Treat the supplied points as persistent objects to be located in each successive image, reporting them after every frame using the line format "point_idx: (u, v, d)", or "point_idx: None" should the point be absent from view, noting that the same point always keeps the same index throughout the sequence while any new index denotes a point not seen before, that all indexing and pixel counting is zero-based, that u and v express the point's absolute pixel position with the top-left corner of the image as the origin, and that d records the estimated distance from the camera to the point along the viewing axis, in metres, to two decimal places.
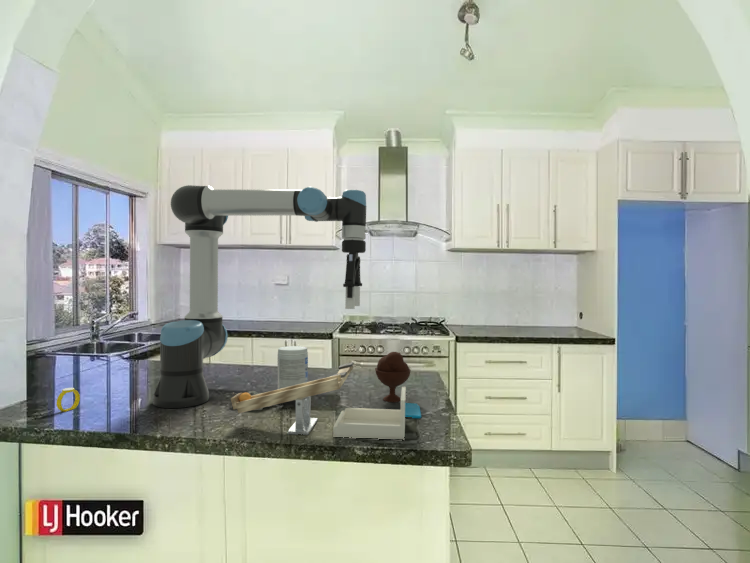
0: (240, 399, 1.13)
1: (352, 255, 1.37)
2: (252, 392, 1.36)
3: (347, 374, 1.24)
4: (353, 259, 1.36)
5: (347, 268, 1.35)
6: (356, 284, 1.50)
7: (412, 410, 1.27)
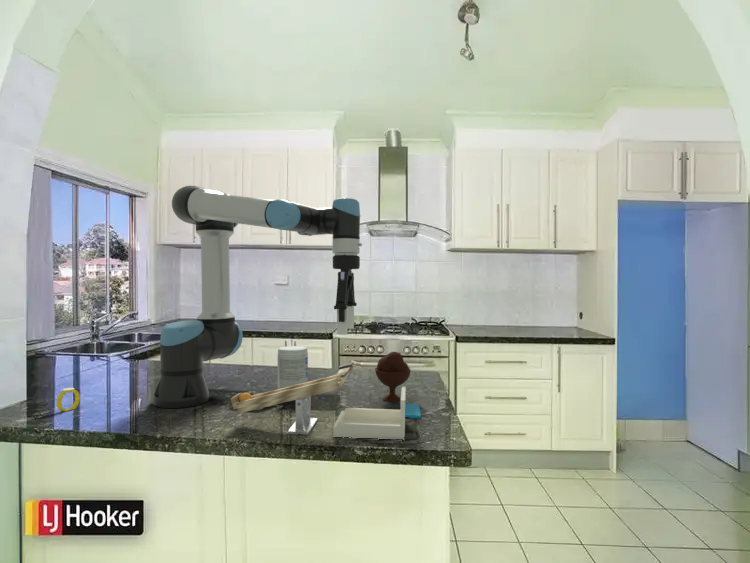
0: (240, 399, 1.13)
1: (344, 273, 1.20)
2: (252, 392, 1.36)
3: (347, 374, 1.24)
4: (345, 277, 1.19)
5: (338, 288, 1.18)
6: (350, 304, 1.33)
7: (411, 410, 1.26)
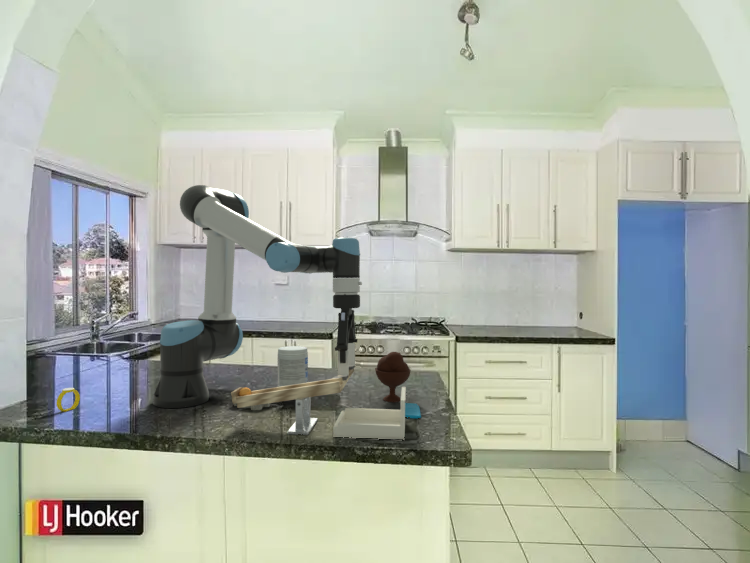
0: (240, 394, 1.13)
1: (344, 314, 1.20)
2: None
3: (348, 377, 1.24)
4: (346, 318, 1.19)
5: (339, 329, 1.18)
6: (351, 340, 1.33)
7: (411, 410, 1.26)
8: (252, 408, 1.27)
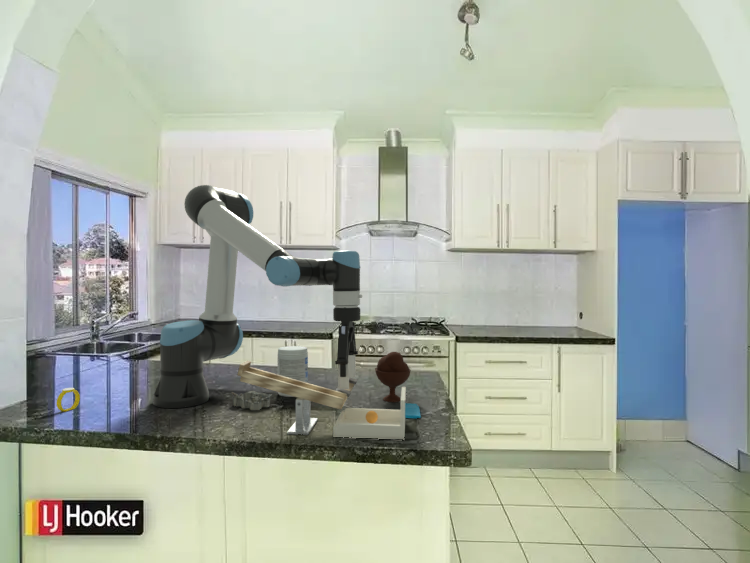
0: (374, 417, 1.11)
1: (345, 327, 1.20)
2: (252, 392, 1.36)
3: None
4: (346, 332, 1.19)
5: (339, 343, 1.18)
6: (351, 353, 1.33)
7: (411, 410, 1.26)
8: (251, 408, 1.27)
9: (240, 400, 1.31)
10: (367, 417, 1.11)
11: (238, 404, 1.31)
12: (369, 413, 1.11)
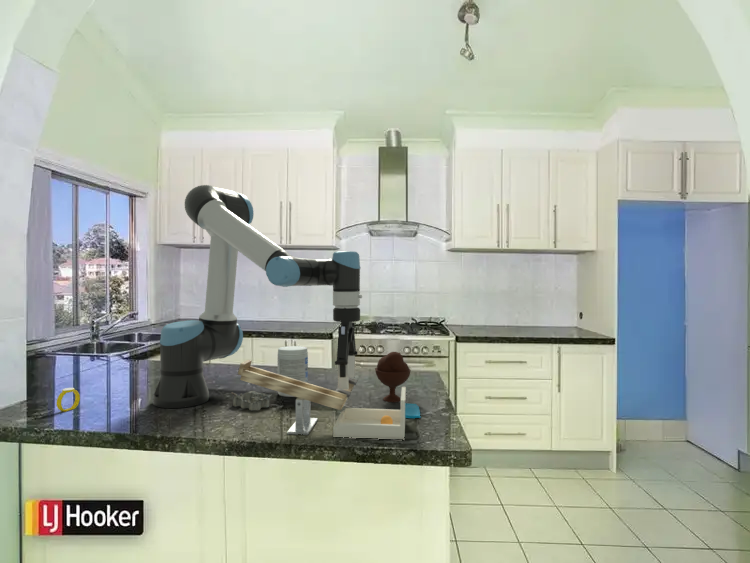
0: (384, 421, 1.10)
1: (344, 328, 1.20)
2: (252, 392, 1.36)
3: None
4: (346, 332, 1.19)
5: (339, 343, 1.18)
6: (351, 353, 1.33)
7: (411, 410, 1.26)
8: (250, 408, 1.27)
9: (240, 400, 1.31)
10: None
11: (238, 404, 1.31)
12: None
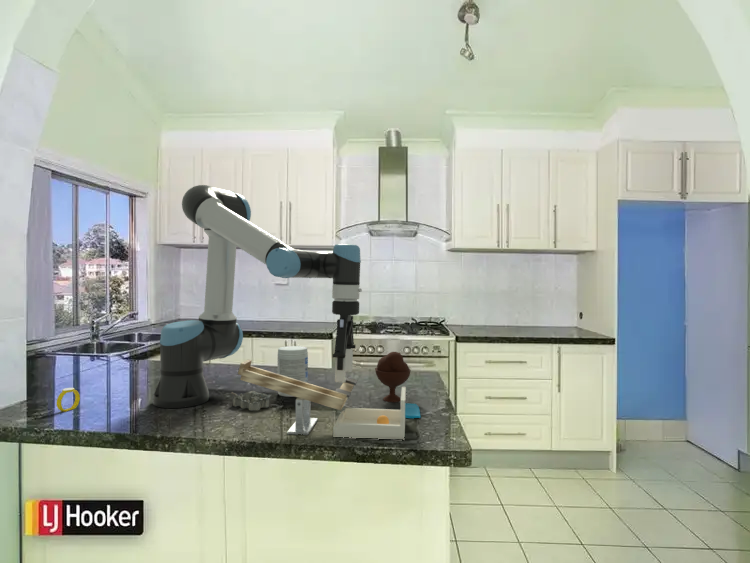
0: (379, 422, 1.10)
1: (343, 321, 1.20)
2: (252, 392, 1.36)
3: None
4: (344, 325, 1.19)
5: (337, 336, 1.18)
6: (348, 346, 1.34)
7: (411, 410, 1.26)
8: (250, 408, 1.27)
9: (239, 400, 1.31)
10: None
11: (237, 404, 1.31)
12: None
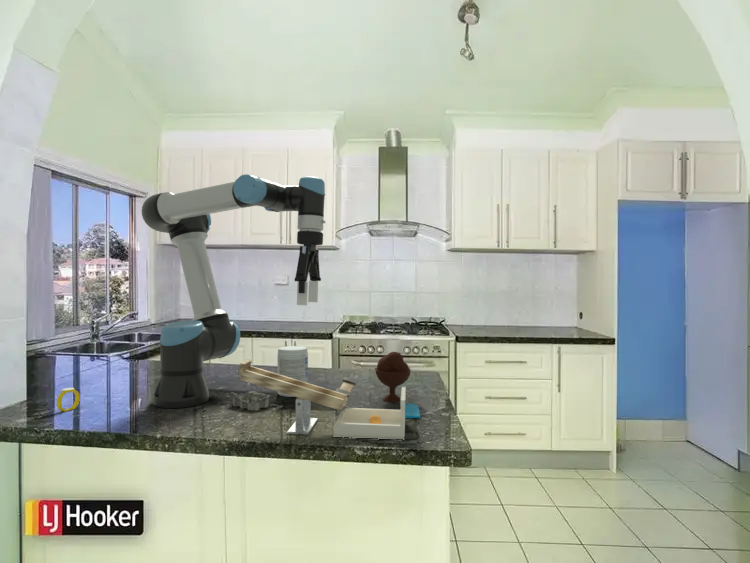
0: None
1: (305, 247, 1.26)
2: (252, 392, 1.36)
3: None
4: (306, 251, 1.26)
5: (299, 261, 1.25)
6: (314, 279, 1.40)
7: (411, 410, 1.26)
8: (249, 408, 1.27)
9: (239, 400, 1.31)
10: (378, 421, 1.11)
11: (237, 404, 1.31)
12: None
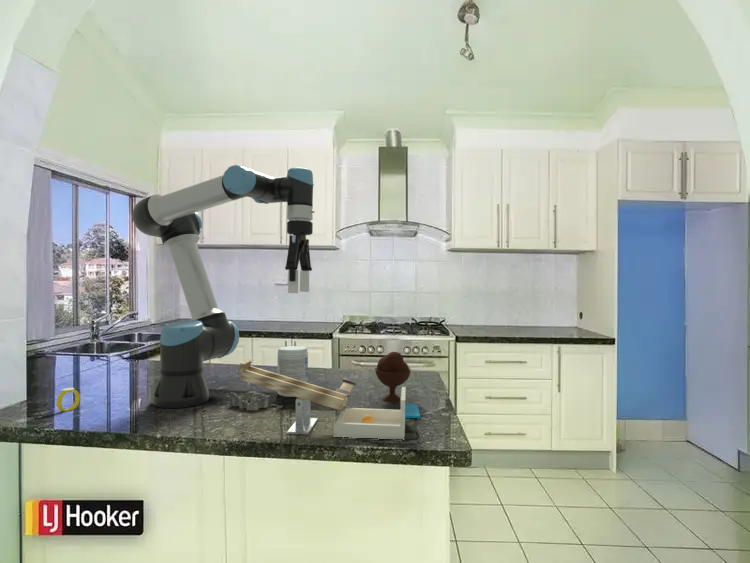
0: None
1: (295, 236, 1.29)
2: (252, 392, 1.36)
3: None
4: (296, 240, 1.28)
5: (289, 250, 1.27)
6: (305, 268, 1.42)
7: (411, 410, 1.26)
8: (248, 408, 1.27)
9: (239, 400, 1.31)
10: (366, 418, 1.11)
11: (237, 404, 1.31)
12: (371, 418, 1.11)
